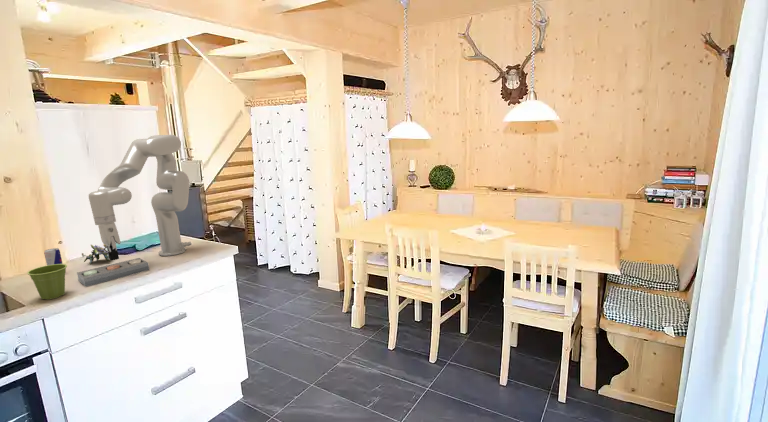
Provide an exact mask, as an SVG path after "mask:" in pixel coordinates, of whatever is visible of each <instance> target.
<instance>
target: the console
mask: <svg viewBox="0 0 768 422" xmlns="http://www.w3.org/2000/svg"><path fill="white" fill-rule="evenodd" d="M133 260H141V262H140V263H136V264H132V265H130V264H129V262H130V261H133ZM112 265H120V268H116V269H112V270H107V267H109V266H112ZM91 270H97V273H96V274H92V275H88V276H84V272H87V271H91ZM147 271H150V266H149V262H148V261H146V260H144V259H143V258H141V257H137V258H133V259H128V260H125V261H121V262H115V263H111V264H107V265H104V266H98V267H95V268H91V269H87V270H82V271H79V272H76V275H77V280H78V282H80V283H81V284H82V285H83V286H84V287H85V288H87V287H90V286H94V285H98V284H101V283H105V282H106V283H107V282H109V281H113V280H114V281H115V280H116V279H121V278H125V277H129V276H132V275H136V274H139V273H143V272H147Z"/></svg>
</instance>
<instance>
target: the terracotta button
mask: <svg viewBox="0 0 768 422" xmlns="http://www.w3.org/2000/svg"><path fill="white" fill-rule="evenodd" d="M116 268H120V265H112V266H109V267H107V270H112V269H116Z"/></svg>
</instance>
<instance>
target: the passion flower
mask: <svg viewBox="0 0 768 422" xmlns="http://www.w3.org/2000/svg"><path fill="white" fill-rule="evenodd" d="M90 246H91V248H92V249H93V250H92V251H91V252H90V253H91V254H89V255H86V254H84V253H83V252H81V255H82V257H83V258H84V257H85V258H84V260H83V263H85V262H86V261H87V260H89V265H91V264H92V263H93V262H94V260H95V259H96V261H99V260H100V255H103V257H104V259H105V260H106V261H107V262H111V260H110V259H109V255H108V252H109V251H108V250H107V247H106V245H105V244H102V246H103V247H104V248H103V247H102V246H100V245H96V244H95V245H93V244H90Z"/></svg>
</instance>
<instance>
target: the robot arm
mask: <svg viewBox="0 0 768 422" xmlns="http://www.w3.org/2000/svg"><path fill="white" fill-rule="evenodd" d="M181 146H182V141H181V139H180V138H179V137H178V136H177V135H175V134H157V135H156V134H155V135H150V136H149V137H148V138H139V139H137V138H136V139H135V140H133V141H132V142H131V144H130V146H129V147H128V149H127V151H126V153H125V155H124V157H123V159H121V160H122V161H121V163H120V164H119V165H118V166H117V167H115V168H114V169H113V170H111V171H110V172H109V173H108V174H107V175H106V176H105V177H104V178H103V180H102V181H101V182H100V185H99V187H98V188H97V190H96V191H92V192H89V193H88V202H89V205H90V209H91V213H92V215H93V216H92V217H93V221H94V224H95V226H98V232H99V236H100V239H101V242H102V243H103V244H105V245H106V247H107V248H106V251H109V252H108V255H109V259H110V260H111V261H113V262H114V261H116V260H119V259H120V257H119V252H118V249H117V248H118V247H117V244H118V245H120V244H121V239H120V236H119V235H120V234H119V231H118V228H117V226H116V222H117V219H116V215H115V210H114V206H118V205H120V206H121V205H125V204H127V203H129V202H130V201H131V199H132V198H133V197H132V196H133V194H132V192H131V191H130V190H129V189H128V188H127V187H120V185H122V184H124V182H126V181H127V180H130V179H132V178H135V177H136V176H138V175H140V174H141V173H142V170H143V168H144V166H145V164H146V162H147V161H148V158H149V157H151V158H153V157H155V158H156V162H157V166H156V167H157V168H156V182H155V183H156V186H157V188H158V189H160V190H164V191H165V192H163V191H162V192H157V193H155V194H154V195H153V196H152V197H151V202H150V203H151V208H152V209H153V211H154V215H155V219H156V226H157V231H158V238H159V244H160V249H161V250H159V251H158V256H161V257H171V256H176V255H180V254H182V253H184V252H186V251H187V249H186V247H190V246H192V242H191V241H188V242H187V241H184V242H183V241H182V238H181V232H180V225H179V219H178V215H177V213H176V212H183V211H184V210H186V208H188V204H189V195H190V193H189V192H190V178H189V176H188V174H187V173H186V172H184V171H181V170H177V160H176V158H175V156H174V154H175V153H177V152H178V151H180V149H181ZM173 153H174V154H173ZM166 190H167V192H166ZM168 190H169V192H168ZM171 190H172V192H170V191H171ZM103 244H102V245H103ZM111 261H110V262H111Z"/></svg>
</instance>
